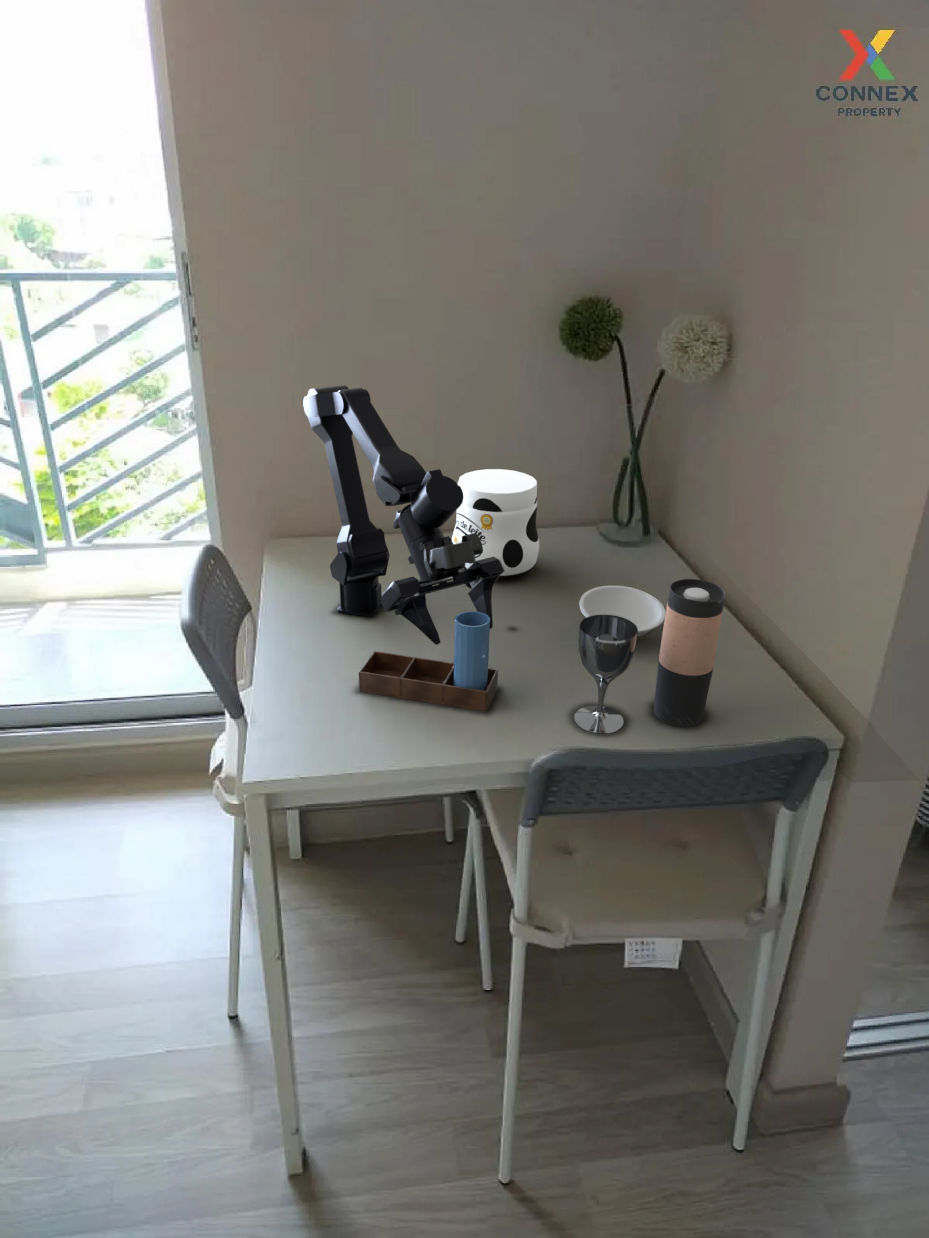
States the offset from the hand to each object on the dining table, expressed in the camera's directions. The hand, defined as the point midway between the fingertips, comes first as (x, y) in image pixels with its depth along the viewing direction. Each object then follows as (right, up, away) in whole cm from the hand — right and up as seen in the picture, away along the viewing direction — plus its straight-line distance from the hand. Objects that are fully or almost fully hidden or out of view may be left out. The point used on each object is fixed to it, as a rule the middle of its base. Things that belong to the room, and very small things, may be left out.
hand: (464, 635), depth 128 cm
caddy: (-5, -8, +4) cm, 11 cm away
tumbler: (+1, -9, +3) cm, 9 cm away
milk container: (+6, +13, +47) cm, 49 cm away
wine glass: (+19, -12, -2) cm, 23 cm away
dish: (+27, 0, +22) cm, 35 cm away
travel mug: (+31, -11, 0) cm, 33 cm away
